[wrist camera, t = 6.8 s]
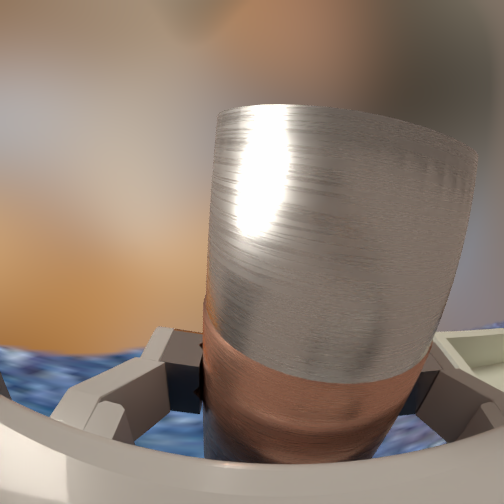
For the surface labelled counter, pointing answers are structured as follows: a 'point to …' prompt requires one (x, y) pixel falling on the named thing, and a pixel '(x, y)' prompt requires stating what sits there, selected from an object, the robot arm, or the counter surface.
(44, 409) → the counter surface
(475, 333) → the tote
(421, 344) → the steel can
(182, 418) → the counter surface
